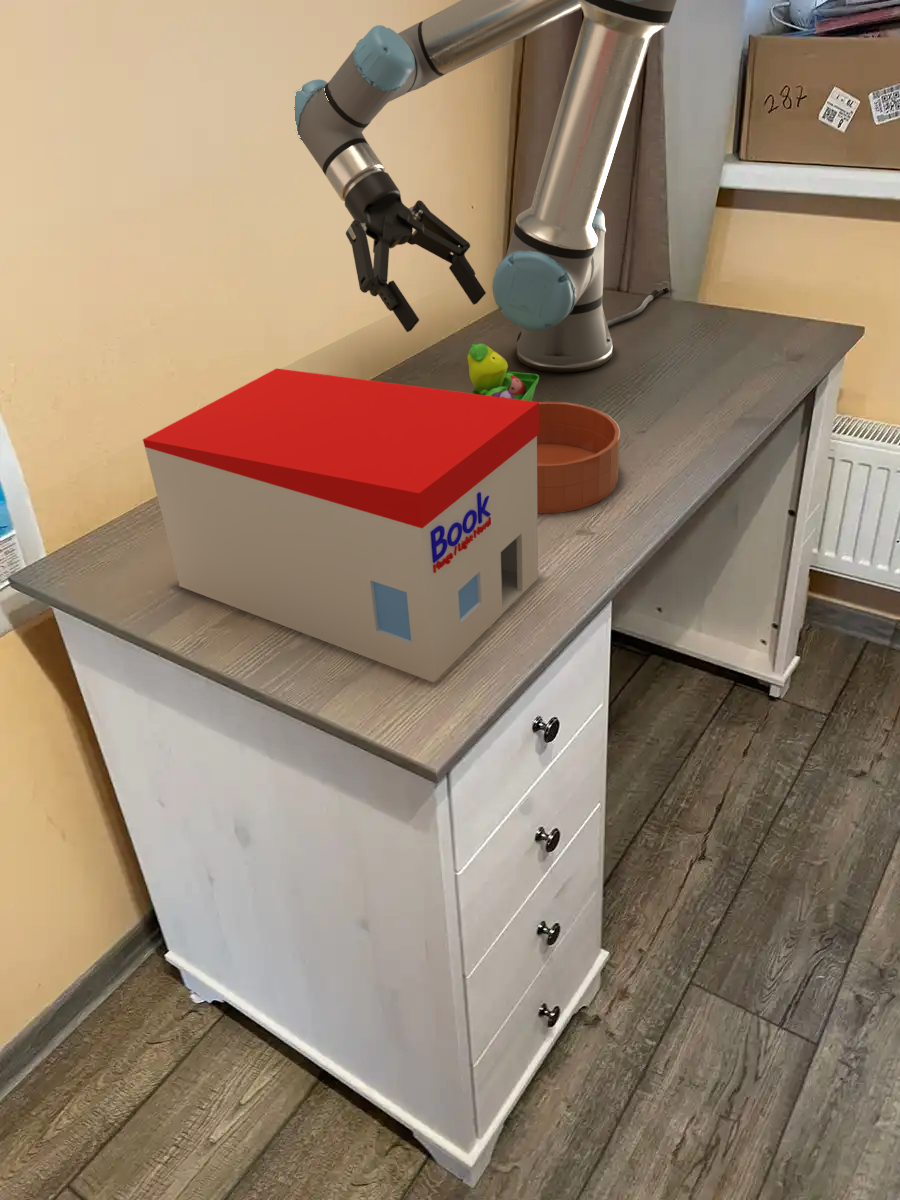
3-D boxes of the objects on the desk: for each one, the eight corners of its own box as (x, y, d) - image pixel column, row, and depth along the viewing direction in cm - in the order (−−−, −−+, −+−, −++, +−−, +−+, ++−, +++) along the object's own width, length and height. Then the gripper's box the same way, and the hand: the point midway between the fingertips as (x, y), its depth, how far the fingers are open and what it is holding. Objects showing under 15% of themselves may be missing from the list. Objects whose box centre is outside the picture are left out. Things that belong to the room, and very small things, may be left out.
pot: (560, 434, 141) (560, 390, 138) (647, 484, 128) (650, 437, 125) (449, 471, 134) (446, 426, 130) (529, 528, 121) (528, 480, 117)
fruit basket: (518, 440, 140) (516, 362, 134) (457, 434, 143) (453, 357, 137) (540, 407, 149) (540, 332, 143) (483, 401, 152) (480, 327, 145)
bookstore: (437, 684, 98) (421, 493, 86) (179, 586, 115) (136, 415, 103) (541, 578, 112) (540, 402, 100) (298, 505, 129) (272, 346, 117)
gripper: (415, 185, 154) (492, 302, 154) (286, 224, 140) (371, 353, 139) (438, 152, 148) (518, 273, 148) (306, 188, 134) (395, 323, 133)
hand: (447, 312), depth 144 cm, fingers open, 13 cm apart
